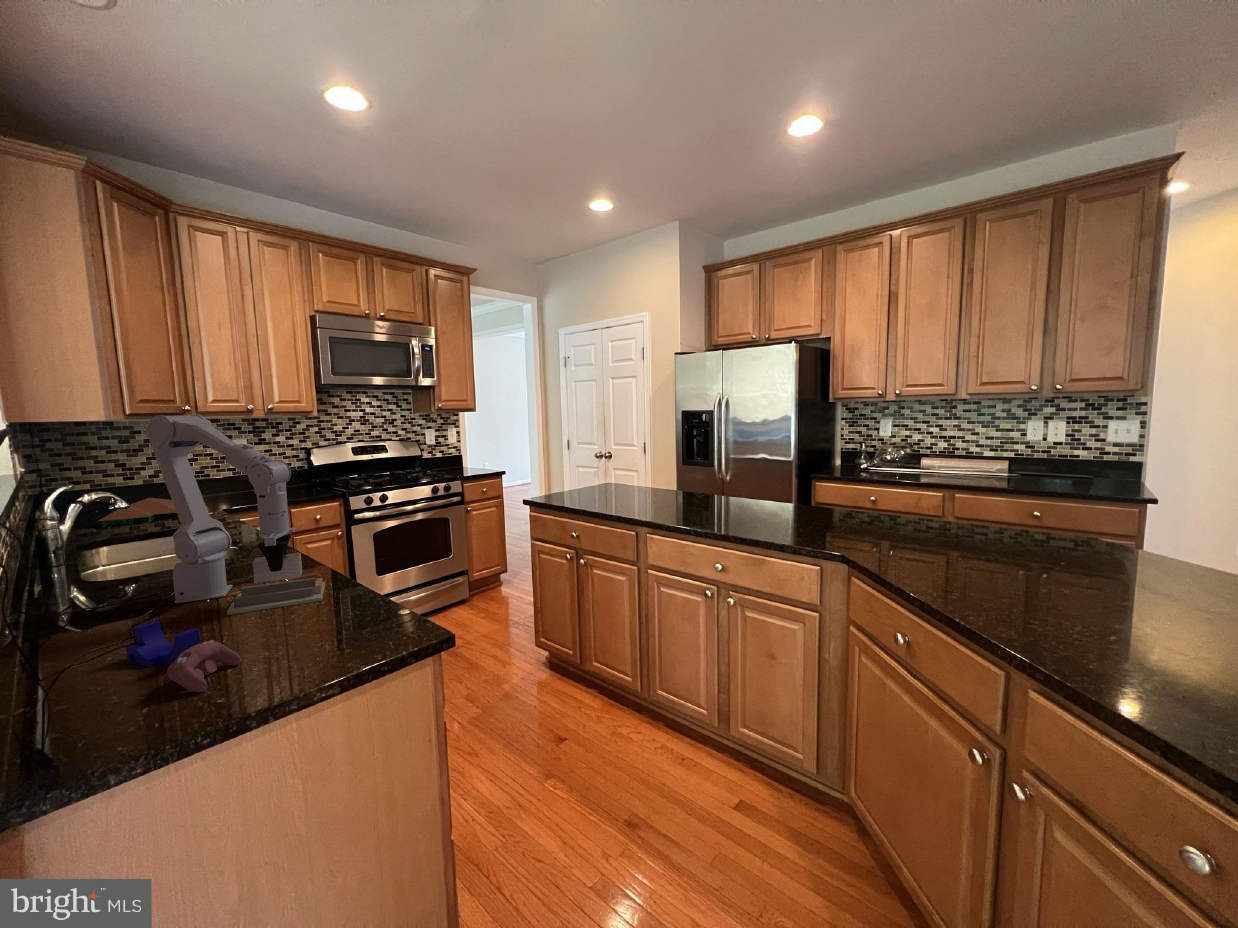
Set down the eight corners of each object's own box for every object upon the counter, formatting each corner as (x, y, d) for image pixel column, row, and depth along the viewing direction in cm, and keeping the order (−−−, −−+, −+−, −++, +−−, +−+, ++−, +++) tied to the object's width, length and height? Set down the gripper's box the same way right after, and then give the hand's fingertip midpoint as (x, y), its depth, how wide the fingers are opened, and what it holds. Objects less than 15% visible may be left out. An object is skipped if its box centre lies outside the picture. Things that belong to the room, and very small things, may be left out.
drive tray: (227, 615, 109) (226, 602, 108) (239, 596, 119) (238, 585, 119) (321, 600, 117) (320, 589, 117) (325, 584, 128) (324, 574, 127)
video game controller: (223, 671, 89) (200, 639, 87) (246, 660, 89) (224, 627, 88) (180, 704, 79) (154, 668, 78) (206, 691, 79) (181, 655, 78)
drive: (254, 583, 114) (252, 562, 113) (257, 577, 117) (256, 557, 117) (300, 577, 118) (298, 556, 117) (302, 572, 121) (300, 552, 121)
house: (192, 507, 226) (190, 490, 225) (178, 521, 199) (176, 502, 198) (123, 513, 214) (121, 495, 213) (98, 529, 186) (96, 508, 185)
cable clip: (127, 662, 89) (124, 630, 88) (157, 650, 93) (154, 620, 93) (173, 673, 85) (170, 640, 85) (201, 660, 90) (198, 629, 89)
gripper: (289, 516, 111) (293, 574, 113) (297, 505, 124) (301, 557, 126) (251, 519, 108) (256, 579, 110) (263, 507, 121) (267, 561, 122)
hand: (277, 568), depth 117 cm, fingers closed on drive, 4 cm apart
